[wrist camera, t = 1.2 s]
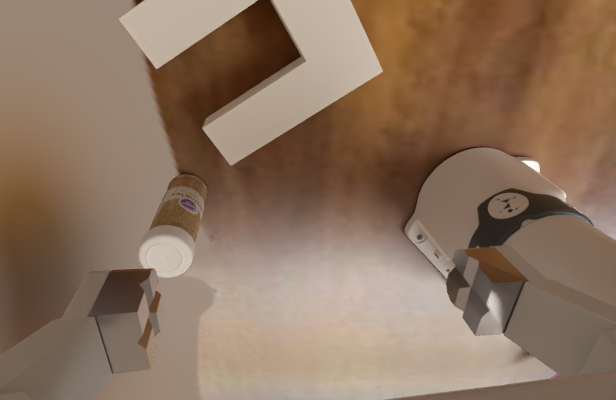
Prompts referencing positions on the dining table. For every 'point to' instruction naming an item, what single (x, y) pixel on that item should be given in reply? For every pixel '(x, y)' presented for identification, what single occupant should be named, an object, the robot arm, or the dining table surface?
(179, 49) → the slotted plate
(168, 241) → the sprinkles bottle
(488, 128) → the dining table surface
